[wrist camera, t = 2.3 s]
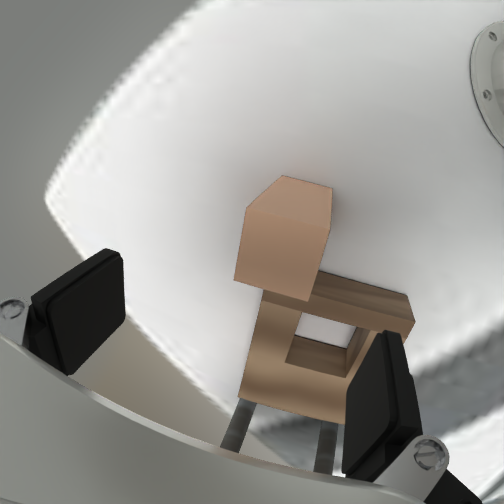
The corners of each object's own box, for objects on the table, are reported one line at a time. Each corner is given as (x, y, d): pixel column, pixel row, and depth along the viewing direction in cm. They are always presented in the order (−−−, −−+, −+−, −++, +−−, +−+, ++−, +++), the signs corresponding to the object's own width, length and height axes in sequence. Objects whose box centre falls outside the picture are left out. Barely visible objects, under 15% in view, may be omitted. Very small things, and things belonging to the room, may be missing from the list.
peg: (282, 175, 23) (246, 207, 14) (332, 188, 23) (330, 229, 14) (272, 223, 25) (233, 280, 16) (319, 236, 24) (307, 301, 15)
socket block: (276, 259, 26) (131, 542, 6) (407, 295, 24) (448, 579, 4) (240, 399, 34) (166, 565, 14) (333, 423, 33) (299, 597, 12)
